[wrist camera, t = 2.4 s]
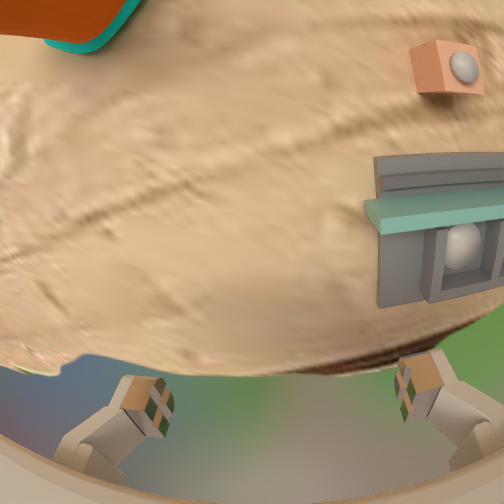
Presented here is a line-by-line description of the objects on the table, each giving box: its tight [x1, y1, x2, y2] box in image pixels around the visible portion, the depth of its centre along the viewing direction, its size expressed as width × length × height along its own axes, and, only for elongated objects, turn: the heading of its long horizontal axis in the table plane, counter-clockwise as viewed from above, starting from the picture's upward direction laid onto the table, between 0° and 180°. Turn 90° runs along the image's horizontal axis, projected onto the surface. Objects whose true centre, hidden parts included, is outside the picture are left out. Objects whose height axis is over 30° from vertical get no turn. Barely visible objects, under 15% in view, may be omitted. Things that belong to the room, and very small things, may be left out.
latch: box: [365, 188, 504, 235], centre depth 20 cm, size 17×1×4 cm, turn 101°
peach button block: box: [410, 40, 484, 95], centre depth 16 cm, size 4×4×6 cm
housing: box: [374, 152, 504, 308], centre depth 21 cm, size 26×15×6 cm, turn 101°
